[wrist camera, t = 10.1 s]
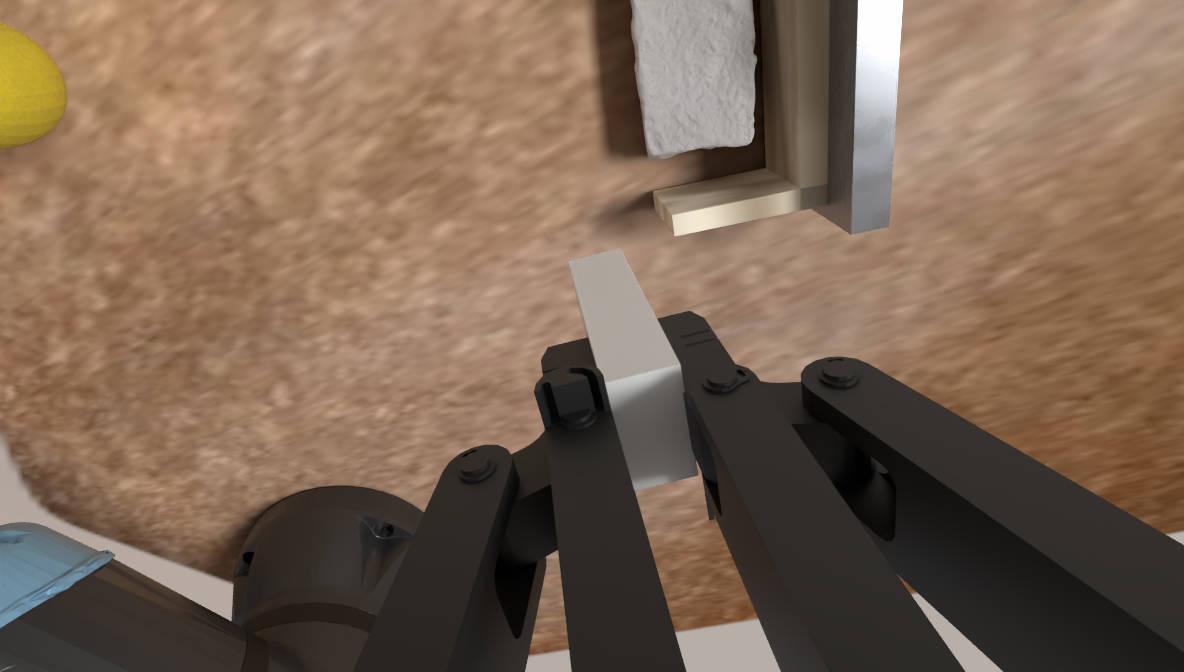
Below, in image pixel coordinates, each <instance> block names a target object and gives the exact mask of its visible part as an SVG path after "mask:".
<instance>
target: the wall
mask: <svg viewBox="0 0 1184 672" xmlns="http://www.w3.org/2000/svg"><path fill="white" fill-rule="evenodd" d="M902 4H903V0H830V6H829V96H828V187H827V205H825V206H820V207H815V208H811V209H813V210H814V211H816V212H817V213H819V214H820V215H822V216H823V217H825V218H826V219H828V220H829V221H831V222H833V223H834V224H836V225H837V226H839V227H840V228H842V229H843V230H845V231H846V232H848V233H849V234H856V233H861V232H866V231H871V230H875V229H880V228H885V227H889V217H890V201H891V185H892V168H893V152H894V135H895V119H896V103H897V86H898V70H899V53H900V37H901V20H902Z"/></svg>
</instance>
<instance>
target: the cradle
mask: <svg viewBox="0 0 1184 672" xmlns="http://www.w3.org/2000/svg"><path fill="white" fill-rule="evenodd" d="M829 6H830V0H760V18H761V46H762V73H763V101H764V128H765V156H766V168H764V169H759V170H754V171H749V172H744V173H739V174H734V175H729V176H725V177H720V178H715V179H710V180H705V181H700V182H695V183H690V184H685V185H680V186H676V187H671V188H666V189H661V190H656V191H653V197H654V205H655V211H656V212H657V213H658V215H659V216H660V218H661V219H662V220H663V222H664V223H665V224H666V226H667V227H668V228H669V230H670V231H671V232H672V234H673V235H674V236H679V235H684V234H689V233H694V232H699V231H703V230H708V229H713V228H718V227H723V226H728V225H733V224H737V223H742V222H747V221H752V220H757V219H762V218H766V217H771V216H776V215H781V214H786V213H791V212H796V211H800V210H805V209H810V208H815V207H820V206H825V205H827V187H828V96H829Z"/></svg>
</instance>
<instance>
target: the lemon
mask: <svg viewBox="0 0 1184 672" xmlns="http://www.w3.org/2000/svg"><path fill="white" fill-rule="evenodd" d="M66 102H67V94H66V85H65V82H64V79H63V76H62V73H61V72H60V70H59V68H58V67H57V65H56V63H55V62H54V60H53V59H52V58H51V57H50V56H49V55H48V53H47V52H46V51H45V50H44V49H43V48H42V47H41V46H39V45H38V44H37V43H36V42H34V41H33V40H32V39H31V38H29V37H28V36H26V35H24V34H23V33H21V32H19V31H17V30H15V29H13V28H12V27H10V26H8V25H5V24H3V23H0V149H3V148H12V147H17V146H20V145H23V144H26V143H29V142H32V141H35V140H37V139H39V138H41V137H42V136H44V135H45V134H46V133H47V132H49V131H50V130H51V129H53V128H54V127H55V126H56V125H57V123H58V122H59V120H60V118H61V117H62V115H63V113H64V111H65V106H66Z"/></svg>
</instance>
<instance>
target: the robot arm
mask: <svg viewBox="0 0 1184 672" xmlns="http://www.w3.org/2000/svg"><path fill="white" fill-rule="evenodd" d="M568 263H569V267H570V271H571V275H572V279H573V283H574V288H575V292H576V296H577V300H578V304H579V308H580V312H581V317H582V321H583V325H584V329H585V333H586V337H587V338H584V339H580V340H575V341H571V342H567V343H563V344H559V345H555V346H551V347H548V348H547V350H546V352H545V354H544V355H543V357H542V359H541V364H542V372H543V377H542V378H541V379H540V380H539V381H538V382H537V383H536V386H535V390H534V393H535V397H536V400H537V403H538V407H539V410H540V413H541V417H542V420H543V423H544V427H545V431H544V432H543V433H542V435H541V436H540V437H539V438H538V439H537V440H536V441H534V442H533V443H532V444H530V445H529V446H527V447H525V448H524V449H522V450H520V451H518V452H516V453H513V454H510V453H509V451H508V450H507V449H506V448H503V447H501V446H499V445H482V446H478V447H474V448H471V449H469V450H467V451H465V452H463V453H460V454H459V455H458V456H457V457H455V458H454V459H453V460H451V461H450V462H449V464H448V465H447V466H446V468H445V469H444V471H443V473H442V475H441V477H440V479H439V481H438V484H437V486H436V488H435V490H434V492H433V495H432V497H431V499H430V501H429V503H428V506H427V508H426V510H425V512H422V511H421V510H420V509H418V508H417V507H415V506H414V505H412V504H410V503H408V502H407V501H404V500H402V499H400V498H398V497H395V496H393V495H390V494H387V493H384V492H380V491H377V490H372V489H366V488H359V487H326V488H319V489H313V490H309V491H305V492H302V493H299V494H296V495H293V496H291V497H289V498H286V499H284V500H282V501H281V502H279V503H277V504H276V505H274V506H273V507H271V508H270V509H269V510H267V511H266V512H265V513H264V514H263V515H262V516H261V517H260V518H259V519H258V520H257V521H256V523H255V524H254V526H253V527H252V529H251V531H250V533H249V535H248V537H247V539H246V541H245V543H244V545H243V547H242V549H241V551H240V553H239V556H238V559H237V562H236V566H235V572H234V587H233V607H232V622H231V621H229V620H228V619H226V618H224V617H222V616H220V615H218V614H216V613H214V612H212V611H211V610H209V609H207V608H205V607H203V606H201V605H199V604H198V603H195V602H194V601H192V600H190V599H188V598H186V597H184V596H183V595H181V594H179V593H177V592H175V591H173V590H171V589H169V588H168V587H166V586H163V585H162V584H160V583H158V582H156V581H154V580H152V579H151V578H149V577H147V576H145V575H143V574H141V573H139V572H137V571H135V570H134V569H132V568H130V567H128V566H126V565H124V564H122V563H121V562H119V561H117V560H115V559H113V557H115V554H113V553H112V552H110V551H108V550H106V551H97V550H95V549H93V548H91V547H89V546H87V545H84V544H82V543H80V542H78V541H76V540H74V539H71V538H69V537H67V536H65V535H63V534H61V533H58V532H56V531H54V530H52V529H50V528H48V527H45V526H42V525H39V524H35V523H26V522H22V523H10V524H5V525H2V526H0V672H525V669H526V664H527V659H528V654H529V649H530V645H531V640H532V635H533V630H534V625H535V620H536V615H537V610H538V605H539V600H540V595H541V591H542V586H543V581H544V576H545V571H546V556H548V555H549V554H551V553H553V552H555V551H557V550H558V552H559V561H560V570H561V579H562V588H563V597H564V606H565V615H566V624H567V633H568V642H569V651H570V660H571V669H572V672H686V669H685V666H684V662H683V658H682V655H681V652H680V648H679V645H678V641H677V638H676V634H675V630H674V627H673V623H672V620H671V616H670V613H669V609H668V606H667V602H666V599H665V596H664V592H663V589H662V585H661V582H660V578H659V575H658V571H657V568H656V564H655V561H654V557H653V554H652V550H651V547H650V543H649V540H648V536H647V533H646V529H645V526H644V522H643V519H642V515H641V512H640V508H639V505H638V501H637V498H636V494H635V491H638V490H642V489H646V488H650V487H654V486H658V485H662V484H666V483H669V482H673V481H677V480H681V479H685V478H689V477H693V476H697V475H698V470H697V464H696V460H697V463H698V465H699V467H700V469H701V472H702V477H703V483H704V490H705V496H706V502H707V509H708V515H709V520H713V519H715V517H716V520H717V522H718V524H719V527H720V529H721V531H722V534H723V536H724V538H725V541H726V543H727V546H728V548H729V550H730V553H731V555H732V557H733V560H734V562H735V564H736V567H737V569H738V571H739V574H740V576H741V578H742V581H743V583H744V586H745V588H746V590H747V593H748V595H749V597H750V600H751V602H752V604H753V607H754V609H755V611H756V614H757V616H758V618H759V621H760V623H761V625H762V628H763V630H764V633H765V635H766V637H767V640H768V642H769V644H770V647H771V649H772V651H773V654H774V656H775V659H776V661H777V663H778V666H779V668H780V670H781V672H965V671H964V669H963V668H962V666H961V665H960V663H959V662H958V661H957V659H956V658H955V656H954V655H953V654H952V652H951V651H950V649H949V648H948V646H947V645H946V644H945V642H944V641H943V640H942V638H941V636H940V635H939V634H938V632H937V631H936V629H935V628H934V627H933V625H932V624H931V622H930V621H929V620H928V618H927V617H926V615H925V614H924V612H923V611H922V610H921V608H920V607H919V605H918V604H917V602H916V601H915V600H914V598H913V597H912V595H911V594H910V593H909V591H908V590H907V588H906V587H905V585H904V584H903V583H902V581H901V580H900V578H899V577H898V576H897V574H898V575H899V576H900V577H901V578H902V579H903V580H904V581H905V582H906V583H908V584H909V585H910V586H911V587H912V588H913V589H914V590H915V591H916V592H917V593H918V594H920V595H921V596H922V597H923V598H924V599H925V600H926V601H927V602H928V603H929V604H930V605H932V606H933V607H934V608H935V609H936V610H937V611H938V612H939V613H940V614H941V615H943V616H944V617H945V618H946V619H947V620H948V621H949V622H950V623H951V624H952V625H953V626H954V627H956V628H957V629H958V630H959V631H960V632H961V633H962V634H963V635H964V636H965V637H966V638H967V639H969V640H970V641H971V642H972V643H973V644H974V645H975V646H976V647H977V648H978V649H979V650H980V651H982V652H983V653H984V654H985V655H986V656H987V657H988V658H989V659H990V660H991V661H993V663H995V664H996V665H997V666H998V667H999V668H1000V669H1001V670H1002V671H1003V672H1184V545H1183V544H1181V543H1179V542H1177V541H1176V540H1174V539H1172V538H1170V537H1169V536H1167V535H1165V534H1163V533H1162V532H1160V531H1158V530H1157V529H1155V528H1153V527H1151V526H1150V525H1148V524H1146V523H1144V522H1143V521H1141V520H1139V519H1137V518H1136V517H1134V516H1132V515H1130V514H1129V513H1127V512H1125V511H1123V510H1122V509H1120V508H1118V507H1117V506H1115V505H1113V504H1111V503H1110V502H1108V501H1106V500H1104V499H1103V498H1101V497H1099V496H1097V495H1096V494H1094V493H1092V492H1090V491H1089V490H1087V489H1085V488H1083V487H1082V486H1080V485H1078V484H1077V483H1075V482H1073V481H1071V480H1070V479H1068V478H1066V477H1064V476H1063V475H1061V474H1059V473H1057V472H1056V471H1054V470H1052V469H1050V468H1049V467H1047V466H1045V465H1044V464H1042V463H1040V462H1038V461H1037V460H1035V459H1033V458H1031V457H1030V456H1028V455H1026V454H1024V453H1023V452H1021V451H1019V450H1017V449H1016V448H1014V447H1012V446H1010V445H1009V444H1007V443H1005V442H1004V441H1002V440H1000V439H998V438H997V437H995V436H993V435H991V434H990V433H988V432H986V431H984V430H983V429H981V428H979V427H977V426H976V425H974V424H972V423H970V422H969V421H967V420H965V419H964V418H962V417H960V416H958V415H957V414H955V413H953V412H951V411H950V410H948V409H946V408H944V407H943V406H941V405H939V404H937V403H936V402H934V401H932V400H930V399H929V398H927V397H925V396H924V395H922V394H920V393H918V392H917V391H915V390H913V389H911V388H910V387H908V386H906V385H904V384H903V383H901V382H899V381H897V380H896V379H894V378H892V377H891V376H889V375H887V374H885V373H884V372H882V371H880V370H878V369H877V368H875V367H873V366H871V365H870V364H868V363H865V362H863V361H860V360H858V359H854V358H847V357H828V358H824V359H820V360H817V361H814V362H812V363H811V364H809V365H807V366H806V367H805V368H804V370H803V371H802V373H801V382H791V383H768V382H762V381H760V380H759V379H758V377H757V376H756V374H754V373H753V372H752V371H751V370H750V369H748V368H746V367H743V366H740V365H736V364H735V363H734V361H733V360H732V358H731V357H730V355H729V354H728V352H727V351H726V349H725V348H724V347H723V345H722V344H721V342H720V341H719V339H717V336H716V335H715V333H714V332H713V330H711V327H710V326H709V324H708V323H707V321H706V320H705V318H703V317H701V316H699V315H697V314H695V313H693V312H691V311H687V312H683V313H679V314H675V315H671V316H667V317H663V318H659V319H657V318H656V316H655V314H654V312H653V310H652V308H651V306H650V304H649V302H648V301H647V299H646V297H645V295H644V293H643V291H642V289H641V287H640V285H639V283H638V281H637V279H636V277H635V275H634V273H633V272H632V270H631V268H630V266H629V264H628V262H627V260H626V258H625V256H624V254H623V252H622V250H621V248H618V249H614V250H610V251H606V252H602V253H598V254H594V255H590V256H586V257H581V258H577V259H573V260H569V261H568ZM714 515H715V517H714ZM895 572H896V573H897V574H896V573H895Z"/></svg>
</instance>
